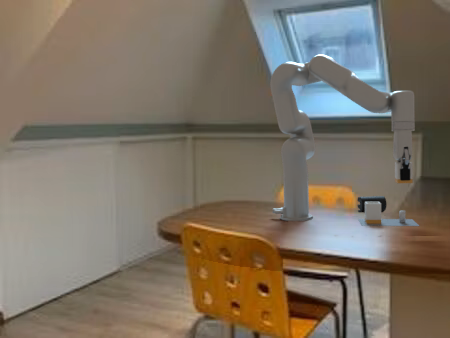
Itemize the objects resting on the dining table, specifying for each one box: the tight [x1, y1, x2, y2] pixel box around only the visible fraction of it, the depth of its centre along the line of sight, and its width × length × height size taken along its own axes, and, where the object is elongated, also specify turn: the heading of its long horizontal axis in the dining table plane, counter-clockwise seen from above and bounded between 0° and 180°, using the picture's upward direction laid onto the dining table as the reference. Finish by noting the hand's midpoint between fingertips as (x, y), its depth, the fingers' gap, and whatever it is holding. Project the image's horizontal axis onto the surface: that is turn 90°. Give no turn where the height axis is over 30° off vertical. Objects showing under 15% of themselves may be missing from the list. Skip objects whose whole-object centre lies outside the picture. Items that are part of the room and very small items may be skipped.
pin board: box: [357, 210, 420, 227], centre depth 179 cm, size 19×12×6 cm, turn 81°
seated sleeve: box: [364, 202, 382, 224], centre depth 180 cm, size 5×5×7 cm
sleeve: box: [394, 161, 414, 184], centre depth 177 cm, size 5×5×7 cm
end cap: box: [356, 195, 388, 213], centre depth 207 cm, size 10×7×7 cm
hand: (403, 178), depth 177 cm, fingers closed on sleeve, 5 cm apart
